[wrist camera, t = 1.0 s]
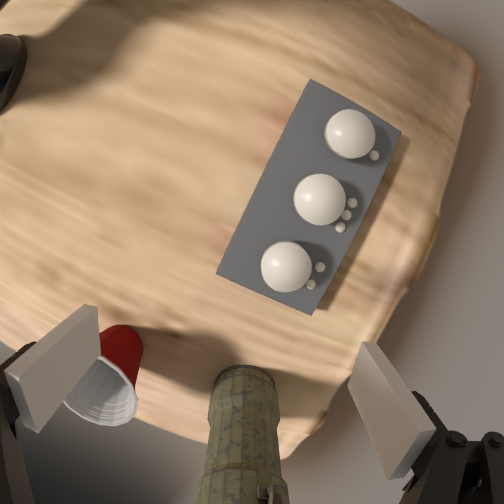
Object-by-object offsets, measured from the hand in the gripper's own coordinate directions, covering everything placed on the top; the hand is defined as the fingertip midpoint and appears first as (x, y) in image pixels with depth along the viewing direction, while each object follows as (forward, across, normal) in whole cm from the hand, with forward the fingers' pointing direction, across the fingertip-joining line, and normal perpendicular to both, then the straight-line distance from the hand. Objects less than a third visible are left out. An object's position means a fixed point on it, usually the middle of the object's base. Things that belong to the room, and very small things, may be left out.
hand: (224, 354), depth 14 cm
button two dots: (+20, +5, 0) cm, 21 cm away
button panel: (+22, +7, +8) cm, 24 cm away
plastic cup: (+22, -14, -15) cm, 30 cm away
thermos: (+23, +3, -19) cm, 30 cm away
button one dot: (+20, +9, +15) cm, 27 cm away
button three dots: (+20, +7, +7) cm, 23 cm away
